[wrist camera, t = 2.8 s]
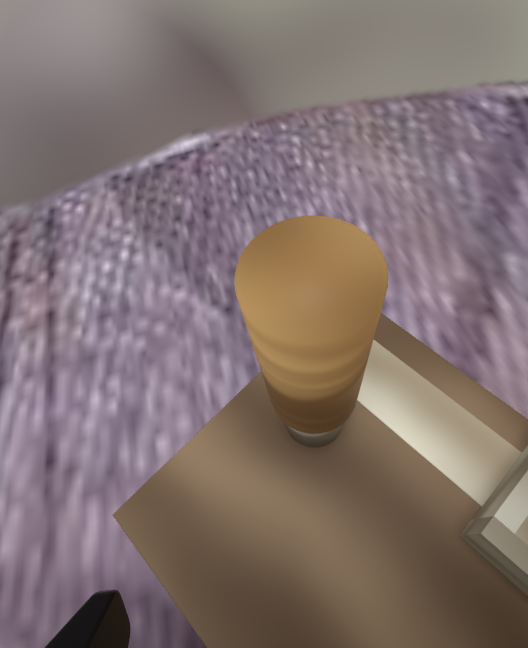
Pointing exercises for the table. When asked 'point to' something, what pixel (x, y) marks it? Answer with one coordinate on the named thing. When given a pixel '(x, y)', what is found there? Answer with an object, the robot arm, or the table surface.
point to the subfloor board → (349, 517)
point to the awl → (312, 318)
